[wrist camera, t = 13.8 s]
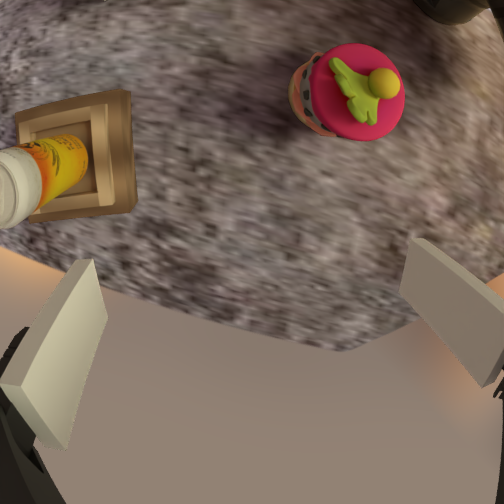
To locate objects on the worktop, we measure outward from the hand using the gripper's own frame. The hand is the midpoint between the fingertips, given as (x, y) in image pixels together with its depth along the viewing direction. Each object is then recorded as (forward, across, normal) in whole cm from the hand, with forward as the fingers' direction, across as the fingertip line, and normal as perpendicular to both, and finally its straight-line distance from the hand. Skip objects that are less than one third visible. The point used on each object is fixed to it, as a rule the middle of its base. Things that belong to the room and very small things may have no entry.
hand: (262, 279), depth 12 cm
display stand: (+29, -18, +3) cm, 34 cm away
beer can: (+24, -18, +3) cm, 30 cm away
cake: (+29, +13, +9) cm, 33 cm away
